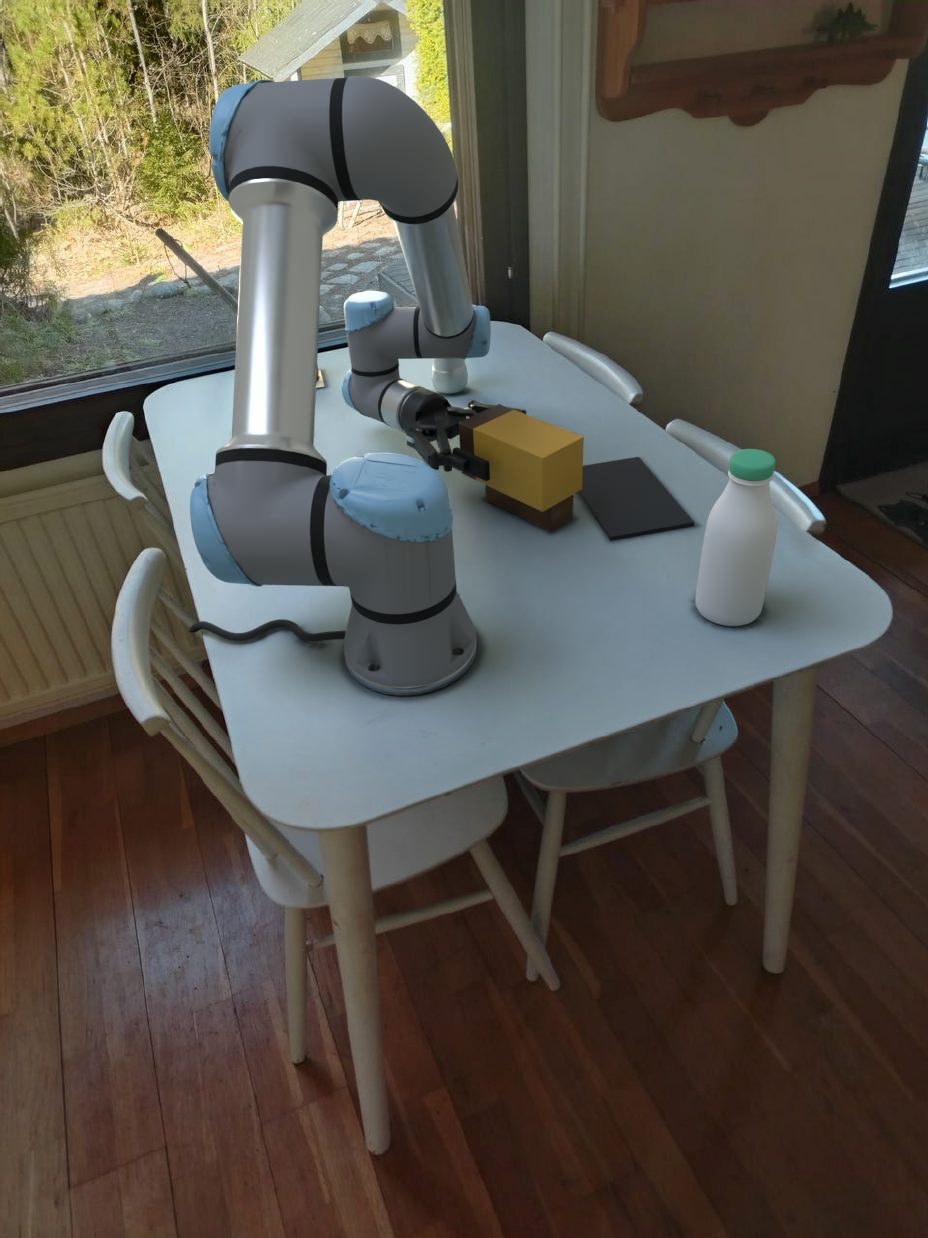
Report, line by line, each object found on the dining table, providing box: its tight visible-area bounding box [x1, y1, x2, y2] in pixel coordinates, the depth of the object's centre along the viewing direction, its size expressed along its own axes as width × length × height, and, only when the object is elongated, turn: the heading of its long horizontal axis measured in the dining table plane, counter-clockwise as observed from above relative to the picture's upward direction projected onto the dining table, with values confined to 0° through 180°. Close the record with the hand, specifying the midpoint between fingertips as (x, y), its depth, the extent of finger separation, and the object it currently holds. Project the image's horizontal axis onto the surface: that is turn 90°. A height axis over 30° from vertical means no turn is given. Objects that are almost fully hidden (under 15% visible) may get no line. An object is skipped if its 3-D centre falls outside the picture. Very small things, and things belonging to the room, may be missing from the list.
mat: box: [577, 456, 695, 541], centre depth 123 cm, size 12×20×1 cm, turn 13°
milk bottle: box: [694, 448, 778, 627], centre depth 96 cm, size 8×8×20 cm
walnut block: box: [484, 484, 575, 533], centre depth 121 cm, size 13×4×4 cm, turn 43°
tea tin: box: [458, 403, 585, 512], centre depth 118 cm, size 16×8×8 cm, turn 43°
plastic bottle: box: [431, 359, 469, 394], centre depth 150 cm, size 6×7×20 cm
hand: (519, 455), depth 118 cm, fingers open, 11 cm apart
